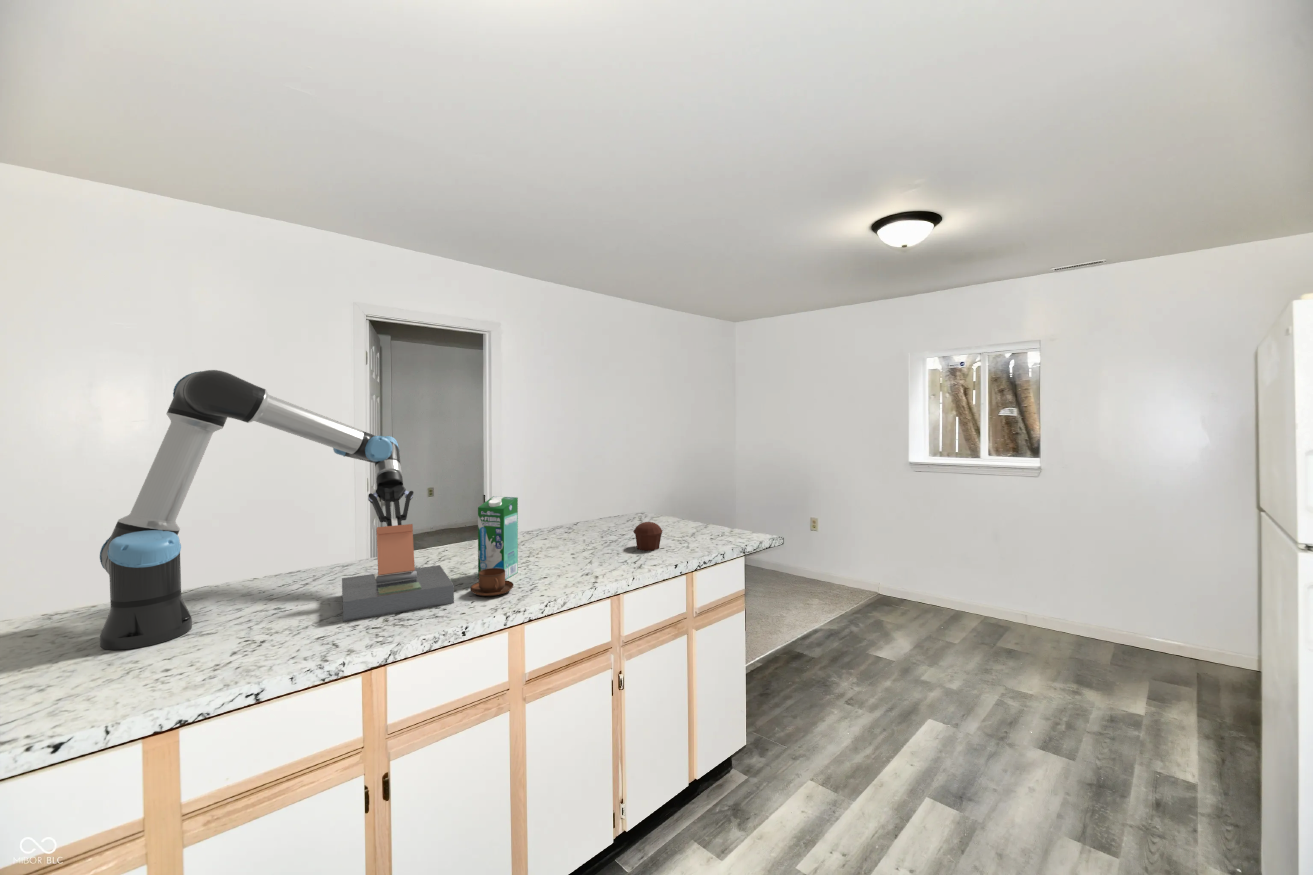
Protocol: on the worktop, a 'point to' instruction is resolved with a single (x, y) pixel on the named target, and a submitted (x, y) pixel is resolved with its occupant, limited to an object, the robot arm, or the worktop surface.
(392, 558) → the orange thin slab
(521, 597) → the worktop surface
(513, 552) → the milk carton
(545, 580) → the worktop surface
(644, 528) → the muffin
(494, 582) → the cup and saucer
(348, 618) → the box
